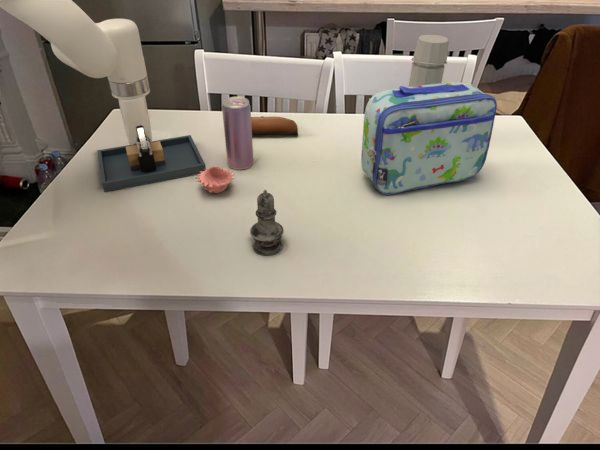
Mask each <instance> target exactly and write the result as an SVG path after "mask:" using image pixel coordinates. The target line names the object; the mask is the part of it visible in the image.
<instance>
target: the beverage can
mask: <svg viewBox="0 0 600 450" xmlns="http://www.w3.org/2000/svg"><path fill="white" fill-rule="evenodd" d="M221 111H222V121H223V133H224V141H225V143H224V144H225V150H226V151H225V152H226V162H227V166H229V167H230V168H231V169H232V170H236V171H242V170H247V169H249V168H251V167H252V165H254V160H255V159H254V145H253V143H254V142H253V134H252V125H251V117H252V109H251V105H250V100H249V99H248V98H247V97H243V96H230V97H227V98H225V99H224V100H222V105H221Z"/></svg>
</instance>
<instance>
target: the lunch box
mask: <svg viewBox="0 0 600 450" xmlns="http://www.w3.org/2000/svg"><path fill="white" fill-rule="evenodd" d="M497 107H498V103H497V99H496V98H495V97H494V96H493V95H491V94H488V93H484V92H483V91H481V90H480V88H478V87H477V86H475V84H472V83H469V82H442V83H440V84H431V85H422V86H413V87H409V86H403V85H400V86H399V88H398V87H397V88H392V89H391V88H390V89H385V90H381V91H379V92H377V93H375V94H374V95H372V96H371V97H370V98H369V100H368V102H367V103H366V106H365V110H364V116H363V126H362V127H363V128H362V137H361V139H362V140H361V156H360V157H361V158H360V161H361V169H362V171H363V173H364V174H365V175H366V176H368V179H370V181H371V182H372V183H373V186H374V187H375V188H376V190H377V191H378V192H379V193H381V194H383V195H387V196H390V195H395V194H400V193H403V192H409V191H413V190H420V189H425V188H429V187H434V186H438V185H443V184H449V183H458V182H463V181H468V180H470V179H472V178H474V177H476V175H477V174H479V173H480V172H481V170H482V169H483V167H484V165H485V164H486V160H487V156H488V152H489V149H490V144H491V140H492V135H493V129H494V123H495V118H496V113H497Z"/></svg>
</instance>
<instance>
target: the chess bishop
mask: <svg viewBox="0 0 600 450" xmlns="http://www.w3.org/2000/svg"><path fill="white" fill-rule="evenodd" d="M256 205H257V209H256V211H255V216H256V217H257V222H255V223H254V224H252V226H251V227H250V228H249V229H250V230H249V234H250V236H251V237H252V239H253V241H254V242H253V243H252V250H253V251H254V252H255V253H256V254H258V255H260V256H266V257H267V256H275V255H277V254H278V253H279V252H281V250H282V249H283V243H282V241H281V239H282V236H283V234H284V227H283V225H282V224H281V223H280V222H277V221H276V215H277V210H276V208H275V199H274V195H273V194H271V193H270V192H268V190H267V189H264V190H263V191H262V192H261V193H259V195H257V197H256Z"/></svg>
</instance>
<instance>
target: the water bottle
mask: <svg viewBox="0 0 600 450" xmlns="http://www.w3.org/2000/svg"><path fill="white" fill-rule="evenodd" d="M449 43H450V40H449V38H448V37H446V36H444V35H437V34H422V35H419V36H418V37H417V40H416V43H415V49H414V53H413V56H412V57H411V60H410V61H411V68H410V75H409V81H408V87H413V86H422V85H431V84H440V83H443V77H444V72H445V65H447V64H448V51H449Z"/></svg>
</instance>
